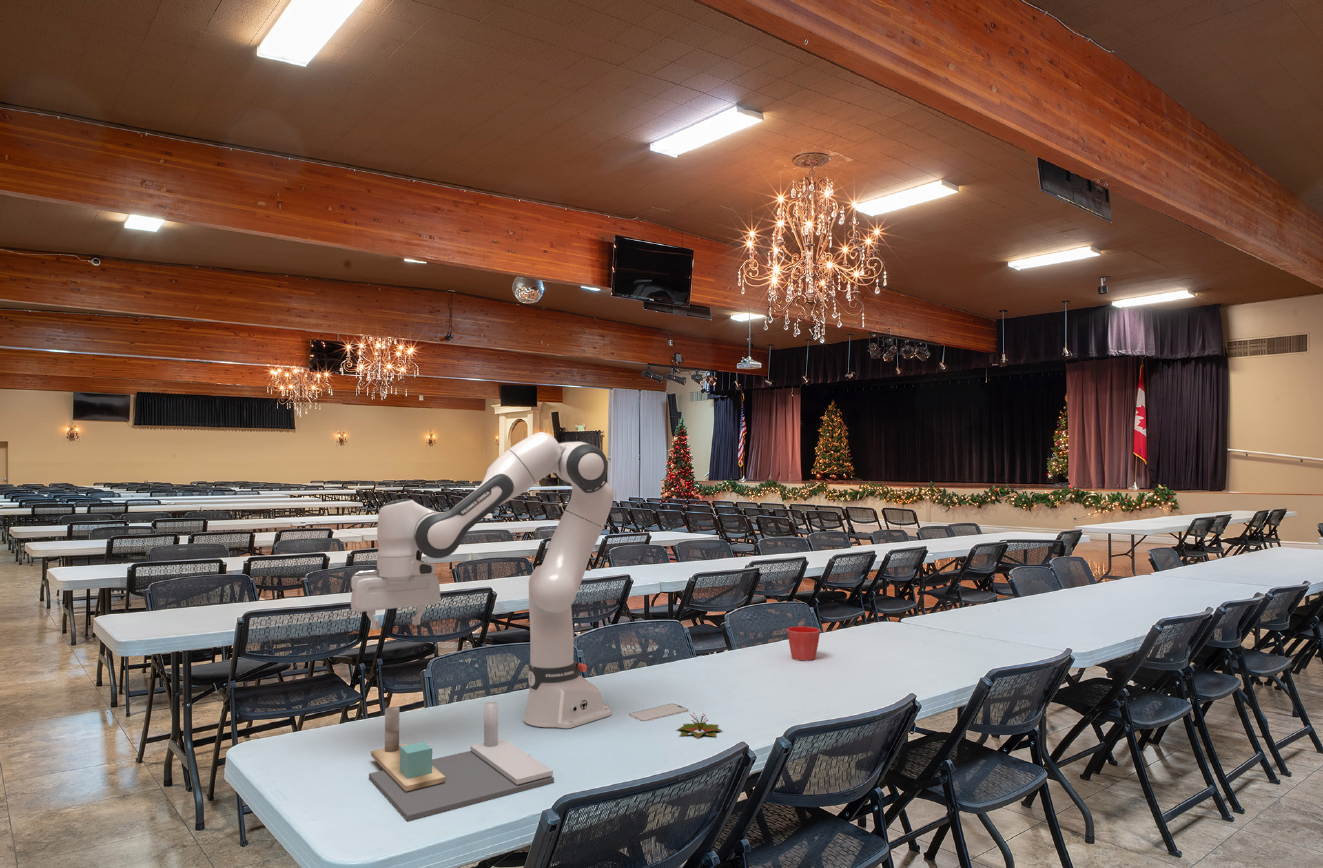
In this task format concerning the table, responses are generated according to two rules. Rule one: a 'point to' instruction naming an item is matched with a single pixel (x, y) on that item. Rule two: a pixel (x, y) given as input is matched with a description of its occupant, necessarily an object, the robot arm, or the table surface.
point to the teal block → (415, 760)
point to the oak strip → (391, 756)
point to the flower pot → (803, 642)
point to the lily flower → (699, 728)
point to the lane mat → (451, 786)
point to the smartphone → (658, 712)
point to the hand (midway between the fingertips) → (396, 626)
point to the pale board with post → (507, 752)
